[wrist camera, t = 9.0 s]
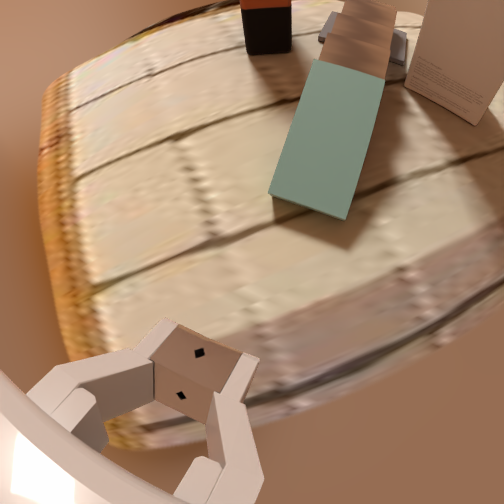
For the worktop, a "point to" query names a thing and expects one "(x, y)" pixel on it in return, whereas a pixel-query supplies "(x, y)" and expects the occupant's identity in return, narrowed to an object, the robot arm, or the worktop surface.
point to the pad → (396, 45)
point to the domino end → (328, 139)
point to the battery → (267, 26)
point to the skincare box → (460, 55)
